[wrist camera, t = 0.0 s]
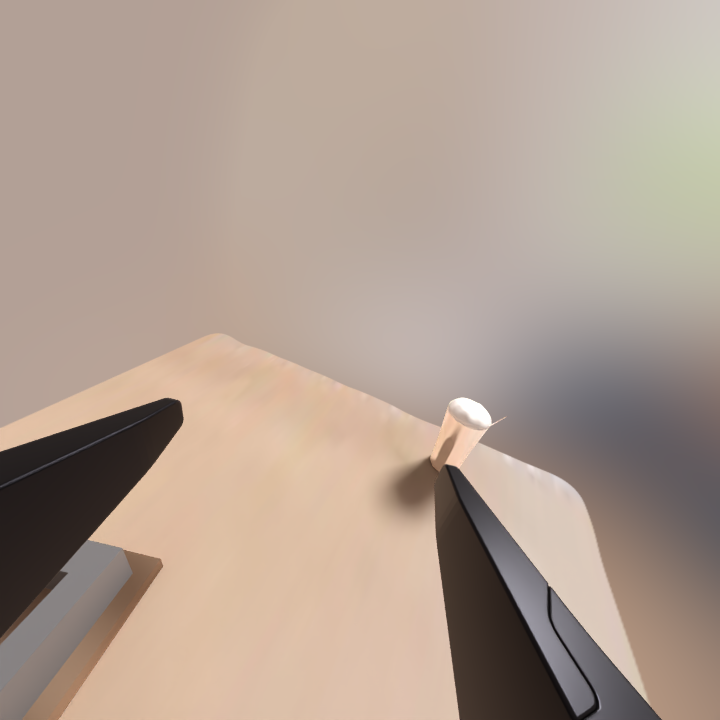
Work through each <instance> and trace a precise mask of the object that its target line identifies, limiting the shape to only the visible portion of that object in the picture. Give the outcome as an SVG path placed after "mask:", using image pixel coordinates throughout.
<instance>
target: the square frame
mask: <svg viewBox="0 0 720 720" xmlns="http://www.w3.org/2000/svg"><path fill="white" fill-rule="evenodd" d="M132 574H133V572H132V570H131V568H130V565H129V563H128V560H127V558H126V556H125V553H124V551H123V549H122V548H119V547H115V546H111V545H106V544H102V543H98V542H94V541H90V540H87V541H86V542H85V543H84V544H83V545H82V546H81V548H80V549H79V550H78V551H77V552H76V553H75V554H74V556H73V557H72V558H71V559H70V560H69V561H68V562H67V563H66V565H65V566H64V567H63V568H62V569H61V570H60V571H59V573H58V574H57V575H56V576H55V577H54V578H53V579H52V581H51V582H50V583H49V584H48V585H47V586H46V587H45V588H47V589H51V590H52V591H51V592H50V593H49V594H48V595H47V596H46V597H45V598H44V599H43V600H42V601H41V602H40V603H39V604H38V606H37V607H36V608H35V609H34V610H33V611H32V612H31V613H30V614H29V615H28V616H27V617H26V618H25V619H24V620H23V621H22V622H21V623H20V624H19V626H18V627H17V628H16V629H15V630H14V631H13V632H12V633H11V634H10V635H9V636H8V637H7V638H6V639H5V640H4V641H3V642H2V643H1V645H0V720H22V719H23V717H24V716H25V715H26V713H27V712H28V711H29V709H30V708H31V707H32V705H33V704H34V703H35V701H36V700H37V699H38V698H39V696H40V695H41V694H42V692H43V691H44V690H45V688H46V687H47V686H48V684H49V683H50V682H51V680H52V679H53V678H54V676H55V675H56V674H57V672H58V671H59V670H60V669H61V667H62V666H63V665H64V663H65V662H66V661H67V659H68V658H69V657H70V655H71V654H72V653H73V651H74V650H75V649H76V647H77V646H78V645H79V643H80V642H81V641H82V640H83V638H84V637H85V636H86V634H87V633H88V632H89V630H90V629H91V628H92V626H93V625H94V624H95V622H96V621H97V620H98V618H99V617H100V616H101V614H102V613H103V612H104V611H105V609H106V608H107V607H108V605H109V604H110V603H111V601H112V600H113V599H114V597H115V596H116V595H117V593H118V592H119V591H120V589H121V588H122V587H123V585H124V584H125V583H126V582H127V580H128V579H129V578H130V576H131V575H132Z"/></svg>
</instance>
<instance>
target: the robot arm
mask: <svg viewBox="0 0 720 720" xmlns="http://www.w3.org/2000/svg"><path fill="white" fill-rule="evenodd" d="M182 424H183V412H182V405H181V402H180V401H179V400H175V399H171V398H164V399H161V400H158V401H155V402H152V403H148V404H145V405H142V406H139V407H136V408H133V409H130V410H127V411H124V412H121V413H118V414H115V415H112V416H109V417H106V418H102V419H99V420H96V421H93V422H90V423H87V424H84V425H81V426H78V427H75V428H72V429H69V430H66V431H63V432H59V433H56V434H53V435H50V436H47V437H44V438H41V439H38V440H35V441H32V442H29V443H26V444H23V445H20V446H17V447H13V448H10V449H7V450H4V451H1V452H0V638H1V637H2V636H3V635H4V634H5V633H6V632H7V630H8V629H9V628H10V627H11V626H12V625H13V624H14V623H15V621H16V620H17V619H18V618H19V617H20V616H21V615H22V613H23V612H24V611H25V610H26V609H27V608H28V607H29V605H30V604H31V603H32V602H33V601H34V600H35V599H36V598H37V596H38V595H39V594H40V593H41V592H42V591H43V590H44V588H45V587H46V586H47V585H48V584H49V583H50V582H51V581H52V579H53V578H54V577H55V576H56V575H57V574H58V573H59V571H60V570H61V569H62V568H63V567H64V566H65V565H66V563H67V562H68V561H69V560H70V559H71V558H72V557H73V556H74V554H75V553H76V552H77V551H78V550H79V549H80V548H81V546H82V545H83V544H84V543H85V542H86V541H87V540H88V538H89V537H90V536H91V535H92V534H93V533H94V532H95V531H96V529H97V528H98V527H99V526H100V525H101V524H102V523H103V521H104V520H105V519H106V518H107V517H108V516H109V515H110V514H111V512H112V511H113V510H114V509H115V508H116V507H117V506H118V504H119V503H120V502H121V501H122V500H123V499H124V498H125V496H126V495H127V494H128V493H129V492H130V491H131V490H132V489H133V487H134V486H135V485H136V484H137V483H138V482H139V481H140V479H141V478H142V477H143V476H144V475H145V474H146V473H147V471H148V470H149V469H150V468H151V467H152V465H153V464H154V463H155V461H156V460H157V459H158V457H159V456H160V455H161V453H162V452H163V451H164V449H165V448H166V446H167V445H168V444H169V442H170V441H171V440H172V438H173V437H174V435H175V434H176V433H177V431H178V430H179V429H180V427H181V426H182ZM434 491H435V527H436V540H437V549H438V556H439V564H440V572H441V579H442V587H443V595H444V602H445V610H446V618H447V625H448V633H449V641H450V648H451V656H452V664H453V671H454V679H455V687H456V695H457V702H458V710H459V718H460V720H662V719H661V718H660V717H659V716H658V715H657V714H656V713H655V711H654V710H653V709H652V708H651V707H650V706H649V704H648V703H647V702H646V701H645V700H644V699H643V697H642V696H641V695H640V694H639V693H638V692H637V690H636V689H635V688H634V687H633V686H632V685H631V684H630V682H629V681H628V680H627V679H626V678H625V677H624V675H623V674H622V673H621V672H620V671H619V670H618V668H617V667H616V666H615V665H614V664H613V663H612V661H611V660H610V659H609V658H608V657H607V655H606V654H605V653H604V652H603V651H602V650H601V648H600V647H599V646H598V645H597V644H596V642H595V641H594V640H593V639H592V638H591V636H590V635H589V634H588V633H587V632H586V630H585V629H584V628H583V627H582V625H581V624H580V623H579V622H578V620H577V619H576V618H575V617H574V616H573V614H572V613H571V612H570V611H569V609H568V608H567V607H566V606H565V604H564V603H563V602H562V600H561V599H560V598H559V597H558V595H557V594H556V593H555V591H554V590H553V589H552V588H551V587H550V586H548V583H547V581H546V580H545V579H544V577H543V576H542V575H541V574H540V572H539V571H538V570H537V568H536V567H535V566H534V565H533V563H532V562H531V561H530V559H529V558H528V557H527V556H526V554H525V553H524V552H523V550H522V549H521V548H520V547H519V545H518V544H517V543H516V542H515V540H514V539H513V538H512V536H511V535H510V534H509V533H508V531H507V530H506V529H505V527H504V526H503V525H502V524H501V522H500V521H499V520H498V518H497V517H496V516H495V515H494V513H493V512H492V511H491V509H490V508H489V507H488V506H487V504H486V503H485V502H484V500H483V499H482V498H481V497H480V495H479V494H478V493H477V491H476V490H475V489H474V488H473V486H472V485H471V484H470V482H469V481H468V480H467V479H466V477H465V476H464V475H463V473H462V472H461V471H460V470H459V468H458V467H456V466H453V465H449V464H444V465H443V466H442V468H441V470H440V472H439V474H438V476H437V478H436V480H435V485H434Z"/></svg>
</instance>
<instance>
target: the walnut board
mask: <svg viewBox="0 0 720 720" xmlns="http://www.w3.org/2000/svg"><path fill="white" fill-rule="evenodd" d="M123 551H124V553H125V556H126V558H127V560H128V563H129V565H130V568H131V570H132V572H133V574H132V575H131V576H130V578H129V579H128V580H127V582H126V583H125V584H124V585H123V587H122V588H121V589H120V591H119V592H118V593H117V595H116V596H115V597H114V599H113V600H112V601H111V603H110V604H109V605H108V607H107V608H106V609H105V611H104V612H103V613H102V614H101V616H100V617H99V618H98V620H97V621H96V622H95V624H94V625H93V626H92V628H91V629H90V630H89V632H88V633H87V634H86V636H85V637H84V638H83V640H82V641H81V642H80V643H79V645H78V646H77V647H76V649H75V650H74V651H73V653H72V654H71V655H70V657H69V658H68V659H67V661H66V662H65V663H64V665H63V666H62V667H61V669H60V670H59V671H58V672H57V674H56V675H55V676H54V678H53V679H52V680H51V682H50V683H49V684H48V686H47V687H46V688H45V690H44V691H43V692H42V694H41V695H40V696H39V698H38V699H37V700H36V701H35V703H34V704H33V705H32V707H31V708H30V709H29V711H28V712H27V713H26V715H25V716H24V717H23V719H22V720H58V719H59V718H60V716H61V715H62V713H63V712H64V710H65V709H66V707H67V706H68V704H69V703H70V701H71V700H72V699H73V697H74V696H75V694H76V693H77V691H78V690H79V688H80V687H81V685H82V684H83V682H84V681H85V680H86V678H87V677H88V675H89V674H90V672H91V671H92V669H93V668H94V666H95V665H96V663H97V662H98V660H99V659H100V658H101V656H102V655H103V653H104V652H105V650H106V649H107V647H108V646H109V644H110V643H111V641H112V640H113V639H114V637H115V636H116V634H117V633H118V631H119V630H120V628H121V627H122V625H123V624H124V622H125V621H126V620H127V618H128V617H129V615H130V614H131V612H132V611H133V609H134V608H135V606H136V605H137V603H138V602H139V601H140V599H141V598H142V596H143V595H144V593H145V592H146V590H147V589H148V587H149V586H150V584H151V583H152V582H153V580H154V579H155V577H156V576H157V574H158V573H159V571H160V570H161V568H162V567H163V565H162V562H161V559H159V558H155V557H150V556H146V555H142V554H138V553H134V552H130V551H126V550H123ZM51 591H52V590H51V589H47V588H44V590H43V591H42V592H41V593H40V594H39V595H38V596H37V598H36V599H35V600H34V601H33V602H32V603H31V604H30V605H29V607H28V608H27V609H26V610H25V611H24V612H23V613H22V615H21V616H20V617H19V618H18V619H17V620H16V621H15V623H14V624H13V625H12V626H11V627H10V628H9V629H8V630H7V632H6V633H5V634H4V635H3V636H2V637H1V638H0V645H1V643H2V642H3V641H4V640H5V639H6V638H7V637H8V636H9V635H10V634H11V633H12V632H13V631H14V630H15V629H16V628H17V627H18V626H19V624H20V623H21V622H22V621H23V620H24V619H25V618H26V617H27V616H28V615H29V614H30V613H31V612H32V611H33V610H34V609H35V608H36V607H37V606H38V604H39V603H40V602H41V601H42V600H43V599H44V598H45V597H46V596H47V595H48V594H49V593H50V592H51Z"/></svg>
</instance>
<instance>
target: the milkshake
mask: <svg viewBox="0 0 720 720" xmlns="http://www.w3.org/2000/svg"><path fill="white" fill-rule="evenodd" d="M504 418H506V417H504ZM504 418H502V419H504ZM502 419H500V420H502ZM500 420H498V421H497V422H499V421H500ZM497 422H495V423H497ZM495 423H493V424H495ZM493 424H491V417H490V415H489V413H488V412H487V411H486V409H484V408H483V406H481V405H480V404H479V403H476V402H474V401H472V400H470V399H467V398H458V399H455V400H453V401H451V402H450V403H449V405H448V408H447V410H446V414H445V417H444V420H443V423H442V427H441V430H440V433H439V436H438V438H437V441H436V444H435V447H434V449H433V452H432V455H431V458H430V461H431V464H432V466H433V467H434V468H435V469H436V470H437V471H438V472H440V470H441V468H442V466H443V465H444V464H449V465H453V466H456V467H458V468H459V467H460V466H461V464H462V463H463V462H464V460H465V459H466V457H467V456H468V455H469V453H470V452H471V450H472V449H473V448H474V446H475V445H476V444H477V442H478V441H479V439H480V438H481V437H482V436H483V435H484V433H485V432H486V431H487V429H488V428H489V427H490V426H491V425H493Z"/></svg>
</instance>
